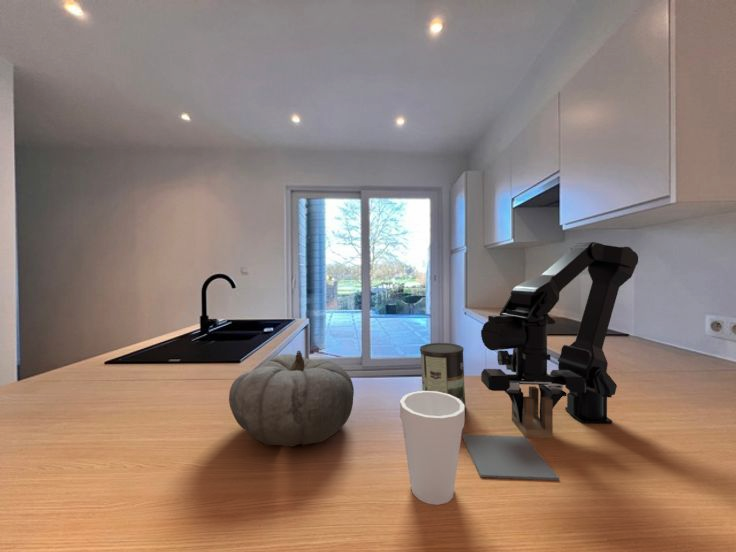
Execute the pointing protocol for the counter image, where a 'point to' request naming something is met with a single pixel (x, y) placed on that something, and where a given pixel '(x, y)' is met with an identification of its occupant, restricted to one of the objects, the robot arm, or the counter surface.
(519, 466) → the mat
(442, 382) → the coffee can
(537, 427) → the wooden chair
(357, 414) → the counter surface
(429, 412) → the foam cup
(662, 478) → the counter surface
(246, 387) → the gourd
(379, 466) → the counter surface
